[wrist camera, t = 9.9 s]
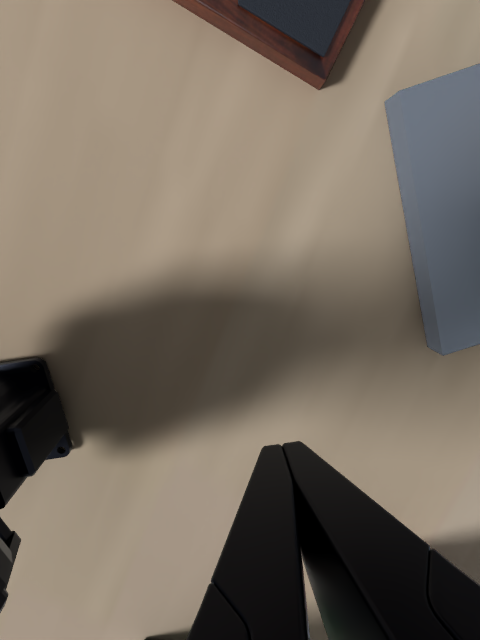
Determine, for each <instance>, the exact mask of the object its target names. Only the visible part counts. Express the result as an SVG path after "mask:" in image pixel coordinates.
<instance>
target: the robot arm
mask: <svg viewBox="0 0 480 640" xmlns="http://www.w3.org/2000/svg"><path fill="white" fill-rule="evenodd" d="M34 364H36V365H38V366H39V370H38V369H36V368H35V367H34ZM68 428H69V427H68V423H67V420H66V417H65V414H64V411H63V407H62V404H61V401H60V398H59V394H58V392H57V391H56V390H55V389H54V386H53V382H52V379H51V376H50V373H49V370H48V366H47V364H46V362H45V361H44V360H43V359H41V358H30V359H23V360H16V361H10V362H3V363H0V509H2V508H4V507H5V505H6V504H7V503H8V502H9V500H10V499H11V498H12V496H13V495H14V494H15V492H16V491H17V490H18V489H19V487H20V486H21V485H22V483H23V482H24V481H25V479H26V478H27V477H29V476H33V475H34V474H35V473H36V471H37V470H38V469H39V467H40V466H41V465H42V463H43V462H44V461H45V460H48V459H54V458H61V457H65V456H67V455H68V454H69V453H70V451H71V450H72V443H71V440H70V437H69V433H68ZM60 447H64V448H65V450H63V449H61V448H60ZM20 542H21V539H20V537H19V536H18V535H17V533H16V532H15V531H11V530H10V529H9V528H8V526H7V525H6V524H5V523H4V521H3V520H2V519H1V518H0V613H1V611H2V609H3V607H4V606H5V603H6V600H7V597H8V592H7V591H6V588H7V584H8V581H9V578H10V575H11V571H12V568H13V565H14V562H15V558H16V555H17V552H18V548H19V545H20ZM301 554H302V555H301ZM302 558H303V562H304V565H305V568H306V572H307V575H308V578H309V581H310V584H311V587H312V590H313V593H314V596H315V599H316V602H317V605H318V608H319V611H320V614H321V617H322V620H323V623H324V626H325V629H326V632H327V635H328V638H329V640H480V585H479V584H477V583H476V582H475V581H474V580H472V579H471V578H470V577H468V576H467V575H466V574H465V573H463V572H462V571H461V570H459V569H458V568H457V567H456V566H454V565H453V564H452V563H451V562H449V561H448V560H447V559H446V558H444V557H443V556H442V555H441V554H439V553H438V552H437V551H436V550H434V549H431V550H430V546H429V545H428V544H427V543H426V542H424V541H423V540H422V539H421V538H419V537H418V536H417V535H416V534H414V533H413V532H412V531H411V530H410V529H408V528H407V527H406V526H405V525H403V524H402V523H401V522H400V521H398V520H397V519H396V518H395V517H394V516H392V515H391V514H390V513H389V512H387V511H386V510H385V509H384V508H382V507H381V506H380V505H379V504H377V503H376V502H375V501H374V500H373V499H371V498H370V497H369V496H368V495H366V494H365V493H364V492H363V491H361V490H360V489H359V488H358V487H356V486H355V485H354V484H353V483H352V482H350V481H349V480H348V479H347V478H345V477H344V476H343V475H342V474H340V473H339V472H338V471H337V470H336V469H334V468H333V467H332V466H331V465H329V464H328V463H327V462H326V461H324V460H323V459H322V458H321V457H319V456H318V455H317V454H316V453H315V452H313V451H312V450H311V449H310V448H308V447H307V446H306V445H305V444H303V443H302V442H300V441H296V442H290V443H284V444H283V445H282V446H281V445H279V444H276V445H269V446H264V447H263V448H262V450H261V452H260V455H259V457H258V460H257V462H256V465H255V468H254V470H253V473H252V475H251V478H250V481H249V483H248V486H247V488H246V491H245V493H244V496H243V499H242V501H241V504H240V506H239V509H238V511H237V514H236V517H235V519H234V522H233V524H232V527H231V529H230V532H229V535H228V537H227V540H226V542H225V545H224V548H223V550H222V553H221V555H220V558H219V560H218V563H217V566H216V568H215V571H214V573H213V576H212V578H211V583H210V584H209V586H208V588H207V591H206V593H205V596H204V599H203V601H202V604H201V606H200V609H199V611H198V613H197V616H196V618H195V621H194V623H193V625H192V628H191V630H190V632H189V635H188V637H187V639H186V640H310V634H309V624H308V614H307V604H306V594H305V584H304V573H303V564H302Z"/></svg>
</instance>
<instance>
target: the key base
mask: <svg viewBox="0 0 480 640" xmlns="http://www.w3.org/2000/svg"><path fill="white" fill-rule="evenodd" d="M385 108H386V114H387V119H388V125H389V131H390V136H391V142H392V148H393V153H394V159H395V165H396V171H397V176H398V182H399V188H400V193H401V199H402V205H403V210H404V216H405V222H406V227H407V233H408V239H409V244H410V250H411V256H412V261H413V267H414V273H415V279H416V284H417V290H418V296H419V301H420V307H421V313H422V318H423V324H424V330H425V335H426V341H427V347H429V348H430V349H432V350H434V351H435V352H437V353H439V354H441V355H442V356H443V355H446V354H450V353H453V352H456V351H459V350H462V349H465V348H469V347H472V346H475V345H478V344H480V64H477V65H474V66H471V67H468V68H465V69H462V70H459V71H456V72H453V73H450V74H447V75H444V76H441V77H438V78H436V79H433V80H430V81H427V82H424V83H421V84H418V85H415V86H412V87H409V88H406V89H403V90H400V91H398V92H397V93H396V94H394V95H393V96H392V97H390V98H389V99H388V100H386V101H385Z"/></svg>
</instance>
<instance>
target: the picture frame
mask: <svg viewBox="0 0 480 640" xmlns="http://www.w3.org/2000/svg"><path fill="white" fill-rule="evenodd" d="M173 1H174V2H176V3H177V4H179V5H181V6H182V7H184V8H186V9H187V10H189V11H190V12H192V13H194V14H195V15H197V16H199V17H200V18H202V19H204V20H205V21H207V22H208V23H210V24H212V25H213V26H215V27H217V28H218V29H220V30H222V31H223V32H225V33H226V34H228V35H230V36H231V37H233V38H235V39H236V40H238V41H240V42H241V43H243V44H244V45H246V46H248V47H249V48H251V49H253V50H254V51H256V52H257V53H259V54H261V55H262V56H264V57H266V58H267V59H269V60H271V61H272V62H274V63H275V64H277V65H279V66H280V67H282V68H284V69H285V70H287V71H289V72H290V73H292V74H293V75H295V76H297V77H298V78H300V79H302V80H303V81H305V82H306V83H308V84H310V85H311V86H313V87H315V88H316V89H318V90H320V88H321V87H322V85H323V84H324V83H325V81H326V80H327V77H328V75H329V73H330V71H331V69H332V67H333V65H334V63H335V61H336V59H337V57H338V55H339V53H340V51H341V49H342V47H343V44H344V42H345V40H346V38H347V36H348V34H349V32H350V30H351V28H352V26H353V24H354V22H355V20H356V18H357V16H358V14H359V11H360V9H361V7H362V5H363V3H364V1H365V0H173Z"/></svg>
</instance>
